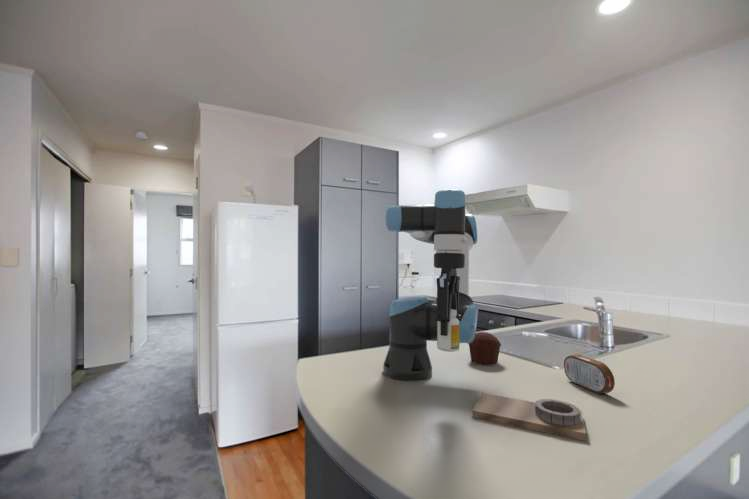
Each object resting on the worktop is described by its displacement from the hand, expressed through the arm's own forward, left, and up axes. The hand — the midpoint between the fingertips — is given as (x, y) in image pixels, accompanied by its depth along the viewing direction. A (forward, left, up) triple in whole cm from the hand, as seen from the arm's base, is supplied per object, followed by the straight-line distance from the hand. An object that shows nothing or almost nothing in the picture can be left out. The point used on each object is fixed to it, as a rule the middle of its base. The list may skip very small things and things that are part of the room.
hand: (448, 345), depth 87 cm
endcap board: (+18, +1, -14) cm, 23 cm away
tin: (+32, +30, -14) cm, 46 cm away
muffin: (+2, +42, -14) cm, 44 cm away
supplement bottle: (0, 0, -1) cm, 1 cm away
